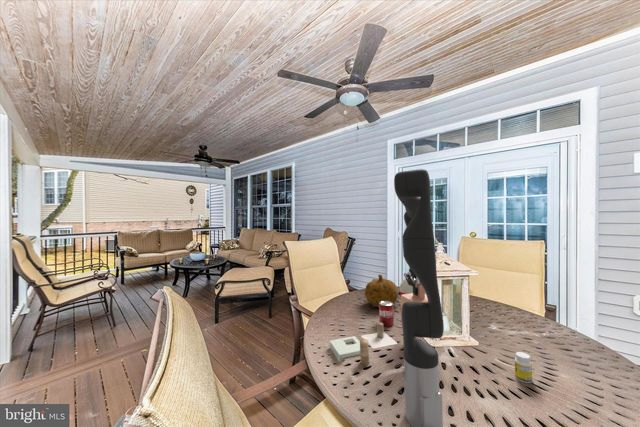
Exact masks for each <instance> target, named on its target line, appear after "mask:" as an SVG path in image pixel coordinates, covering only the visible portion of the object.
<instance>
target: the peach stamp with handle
mask: <svg viewBox="0 0 640 427" xmlns="http://www.w3.org/2000/svg"><path fill="white" fill-rule="evenodd" d="M405 302H422V303H428V299H427V295H426V292H425V290H424V288H423V286H422V284H421V283H419V282H418V296H415V295H414V294H413V293H410V294H403V295H402V294H400V312H401V313H400V314H401V315H402V306H403V304H404V303H405Z"/></svg>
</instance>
